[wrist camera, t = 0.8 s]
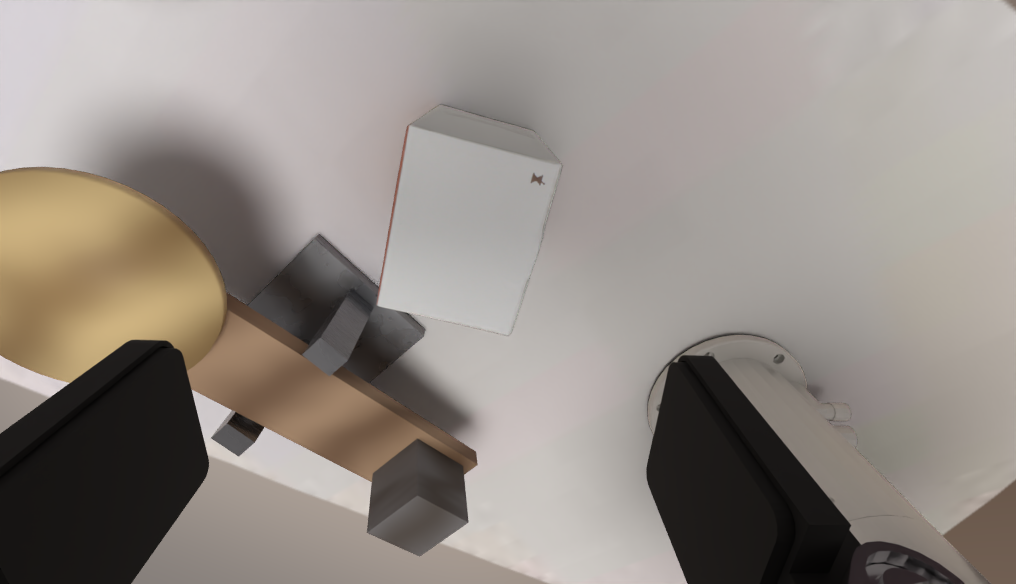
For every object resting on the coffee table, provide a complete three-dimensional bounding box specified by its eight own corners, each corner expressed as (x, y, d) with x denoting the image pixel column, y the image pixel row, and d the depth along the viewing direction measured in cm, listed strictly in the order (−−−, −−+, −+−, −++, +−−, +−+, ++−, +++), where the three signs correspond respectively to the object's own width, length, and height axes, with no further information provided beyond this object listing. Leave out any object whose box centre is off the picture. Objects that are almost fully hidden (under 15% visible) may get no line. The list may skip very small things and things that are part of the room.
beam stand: (425, 329, 36) (410, 393, 29) (320, 419, 39) (281, 498, 32) (319, 234, 33) (271, 278, 26) (213, 340, 36) (142, 407, 28)
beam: (504, 423, 36) (519, 497, 31) (393, 506, 39) (389, 586, 34) (46, 98, 21) (-78, 132, 16) (-78, 271, 24) (-218, 347, 19)
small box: (437, 102, 30) (406, 118, 18) (536, 130, 31) (568, 162, 19) (413, 226, 33) (373, 309, 21) (504, 247, 34) (514, 339, 22)
